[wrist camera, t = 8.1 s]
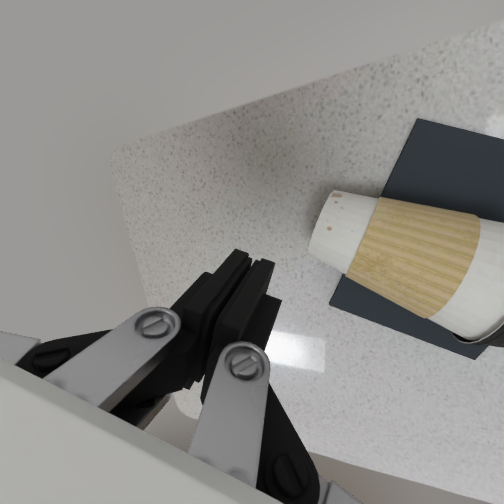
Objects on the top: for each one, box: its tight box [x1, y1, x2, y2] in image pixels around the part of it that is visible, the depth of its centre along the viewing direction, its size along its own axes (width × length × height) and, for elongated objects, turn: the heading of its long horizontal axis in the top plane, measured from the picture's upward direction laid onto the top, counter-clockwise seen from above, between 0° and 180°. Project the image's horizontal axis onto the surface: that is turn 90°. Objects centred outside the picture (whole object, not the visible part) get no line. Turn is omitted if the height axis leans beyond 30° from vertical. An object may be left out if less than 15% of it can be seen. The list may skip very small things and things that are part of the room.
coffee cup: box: [308, 190, 504, 347], centre depth 22 cm, size 10×10×15 cm
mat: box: [329, 119, 504, 360], centre depth 25 cm, size 20×16×1 cm
